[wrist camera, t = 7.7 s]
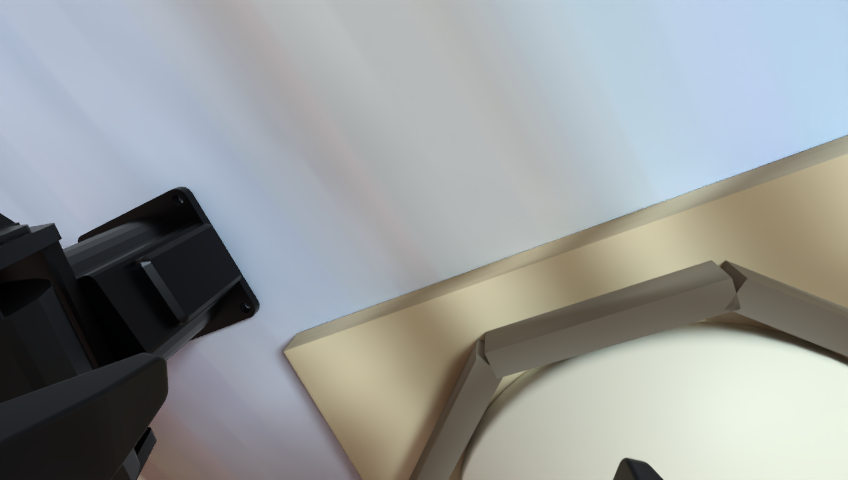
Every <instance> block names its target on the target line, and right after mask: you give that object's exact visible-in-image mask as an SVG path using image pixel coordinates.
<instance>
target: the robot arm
mask: <svg viewBox="0 0 848 480" xmlns="http://www.w3.org/2000/svg"><path fill="white" fill-rule="evenodd" d="M179 195H180V196H181V197H182V198H183V201H184V202H183V203H182V202H181V201H180V200H179V198H178V196H179ZM60 239H62V238H61V236H60V234H59V232H58V230H57V228H56V226H55V224H54V223H51V224H45V225H39V226H33V227H29V226H28V225H27V224H26V225H20V224H19V222H18V223H15V222H13V221H12V220H10V219H8V218H7V217H5V216H4V215H2V214H1V213H0V480H137V478H138V476H139V474H140V472H141V470H142V468H143V467H144V465H145V463H146V461H147V459H148V457H149V455H150V453H151V451H152V449H153V447H154V445H155V443H156V438H155V436H154V433H153V431H152V429H151V428H150V427H148V426H149V424H150V423H151V421H152V420H153V418H154V417H155V415H156V414H157V412H158V411H159V409H160V408H161V406H162V405H163V403H164V402H165V400H166V397H167V394H168V376H167V362H166V361H167V360H168V359H169V358H170V357H171V356H172V355H173V354H174V353H176V352H177V351H178V350H179V349H180V348H181V347H182V346H184V345H185V344H186V343H187V342H188V341H190V340H193V339H195V338H198V337H200V336H203V335H206V334H208V333H211V332H213V331H216V330H219V329H221V328H224V327H226V326H229V325H232V324H234V323H237V322H239V321H242V320H245V319H247V318H250V317H252V316H253V315H254V314H255V313H256V312H257V311H258V310H259V302H258V300H257V298H256V296H255V295H254V293H253V291H252V290H251V288H250V287H249V285H248V283H247V282H246V280H245V278H244V277H243V275H242V273H241V272H240V270H239V268H238V267H237V265H236V263H235V262H234V260H233V259H232V257H231V255H230V254H229V252H228V250H227V249H226V247H225V245H224V244H223V242H222V241H221V239H220V237H219V236H218V234H217V232H216V231H215V229H214V228H213V226H212V224H211V223H210V221H209V220H208V218H207V216H206V215H205V213H204V211H203V210H202V208H201V206H200V205H199V203H198V202H197V200H196V198H195V197H194V195H193V193H192V192H191V191H190V190H189V189H187V188H186V187H177V188H175V189H172V190H170V191H168V192H166V193H164V194H162V195H160V196H158V197H156V198H154V199H152V200H150V201H148V202H146V203H144V204H142V205H140V206H138V207H136V208H135V209H133V210H131V211H129V212H127V213H125V214H123V215H121V216H119V217H117V218H115V219H113V220H111V221H109V222H107V223H105V224H103V225H101V226H99V227H97V228H95V229H93V230H91V231H89V232H87V233H86V234H84V235H82V236H80V237H79V239H78V243H77V244H74V245H72V246H70V247H67V248H65V249H62V247H61V245H60V243H59V240H60ZM244 303H246V304H248V305H249V306H250V309H249V308H247V307H246V306H245V304H244ZM613 480H664V479H663V478H662V477H661V476H660V475H659V474H658V473H657V472H656V471H655V470H654V469H653V468H652V467H651V466H650V465H649V464H648V463H647V462H644V461H641V460H636V459H631V458H623V459H622V460H621V462H620V463H619V466H618V468H617V471H616V473H615V476H614V478H613Z"/></svg>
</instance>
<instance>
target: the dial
mask: <svg viewBox="0 0 848 480" xmlns="http://www.w3.org/2000/svg"><path fill="white" fill-rule="evenodd" d="M623 458H631V459H636V460H641V461H644V462H647V463H648V464H649V465H650V466H651V467H652V468H653V469H654V470H655V471H656V472H657V473H658V474H659V475H660V476H661V477H662V478H663V479H664V480H848V360H847V359H845V358H844V357H842V356H840V355H837V354H835V353H833V352H831V351H829V350H827V349H825V348H823V347H821V346H818V345H816V344H814V343H812V342H809V341H806V340H803V339H800V338H797V337H794V336H791V335H788V334H784V333H781V332H777V331H773V330H768V329H763V328H758V327H753V326H748V325H740V324H729V323H718V322H694V323H690V324H687V325H683V326H680V327H676V328H673V329H669V330H666V331H662V332H659V333H655V334H652V335H648V336H645V337H641V338H638V339H634V340H631V341H627V342H624V343H620V344H617V345H613V346H610V347H606V348H603V349H599V350H596V351H592V352H589V353H585V354H582V355H578V356H575V357H571V358H568V359H564V360H561V361H557V362H554V363H550V364H547V365H543V366H540V367H536V368H533V369H531V370H529V371H527V372H526V373H524V374H523V375H522V376H521V377H520V378H518V379H517V380H516V381H515V382H514V383H512V384H511V385H510V386H509V387H508V388H507V389H505V390H504V391H503V392H502V393H501V395H500V396H499V397H498V398H497V399H496V400H495V401H494V402H493V404H492V405H491V406H490V407H489V408H488V409H487V411H486V412H485V414H484V415H483V417H482V418H481V420H480V421H479V423H478V425H477V427H476V429H475V430H474V432H473V434H472V436H471V438H470V441H469V443H468V445H467V447H466V450H465V454H464V458H463V463H462V467H461V474H460V480H613V478H614V476H615V473H616V471H617V468H618V466H619V463H620V462H621V460H622V459H623Z"/></svg>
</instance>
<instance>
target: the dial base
mask: <svg viewBox="0 0 848 480" xmlns="http://www.w3.org/2000/svg"><path fill="white" fill-rule="evenodd" d="M694 322H718V323H729V324H740V325H748V326H753V327H758V328H763V329H768V330H773V331H777V332H781V333H784V334H788V335H791V336H794V337H797V338H800V339H803V340H806V341H809V342H812V343H814V344H816V345H818V346H821V347H823V348H825V349H827V350H829V351H831V352H833V353H835V354H837V355H840V356H842V357H844V358H845V359H847V360H848V135H847V136H844V137H841V138H838V139H836V140H833V141H830V142H827V143H825V144H822V145H819V146H816V147H813V148H811V149H808V150H805V151H802V152H800V153H797V154H794V155H791V156H788V157H786V158H783V159H780V160H777V161H775V162H772V163H769V164H766V165H763V166H761V167H758V168H755V169H752V170H750V171H747V172H744V173H741V174H738V175H736V176H733V177H730V178H727V179H725V180H722V181H719V182H716V183H713V184H711V185H708V186H705V187H702V188H700V189H697V190H694V191H691V192H688V193H686V194H683V195H680V196H677V197H675V198H672V199H669V200H666V201H663V202H661V203H658V204H655V205H652V206H650V207H647V208H644V209H641V210H638V211H636V212H633V213H630V214H627V215H625V216H622V217H619V218H616V219H613V220H611V221H608V222H605V223H602V224H600V225H597V226H594V227H591V228H588V229H586V230H583V231H580V232H577V233H575V234H572V235H569V236H566V237H563V238H561V239H558V240H555V241H552V242H550V243H547V244H544V245H541V246H538V247H536V248H533V249H530V250H527V251H525V252H522V253H519V254H516V255H513V256H511V257H508V258H505V259H502V260H500V261H497V262H494V263H491V264H488V265H486V266H483V267H480V268H477V269H475V270H472V271H469V272H466V273H463V274H461V275H458V276H455V277H452V278H450V279H447V280H444V281H441V282H438V283H436V284H433V285H430V286H427V287H425V288H422V289H419V290H416V291H413V292H411V293H408V294H405V295H402V296H400V297H397V298H394V299H391V300H388V301H386V302H383V303H380V304H377V305H375V306H372V307H369V308H366V309H363V310H361V311H358V312H355V313H352V314H350V315H347V316H344V317H341V318H338V319H336V320H333V321H330V322H327V323H325V324H322V325H319V326H316V327H313V328H311V329H308V330H305V331H302V332H300V333H297V334H296V335H295V337H294V338H293V339H292V341H291V342H290V343H289V345H288V346H287V347H286V349H285V350H284V351H283V352H284V353H285V355H286V357H287V358H288V360H289V361H290V363H291V365H292V366H293V368H294V370H295V371H296V373H297V374H298V376H299V378H300V379H301V381H302V383H303V384H304V386H305V387H306V389H307V391H308V392H309V394H310V396H311V397H312V399H313V400H314V402H315V404H316V405H317V407H318V409H319V410H320V412H321V413H322V415H323V417H324V418H325V420H326V422H327V423H328V425H329V426H330V428H331V430H332V431H333V433H334V435H335V436H336V438H337V439H338V441H339V443H340V444H341V446H342V448H343V449H344V451H345V452H346V454H347V456H348V457H349V459H350V461H351V462H352V464H353V465H354V467H355V469H356V470H357V472H358V474H359V475H360V477H361V478H362V480H460V474H461V467H462V463H463V458H464V454H465V450H466V447H467V445H468V443H469V441H470V438H471V436H472V434H473V432H474V430H475V429H476V427H477V425H478V423H479V421H480V420H481V418H482V417H483V415H484V414H485V412H486V411H487V409H488V408H489V407H490V406H491V405H492V404H493V402H494V401H495V400H496V399H497V398H498V397H499V396H500V395H501V393H502V392H503V391H504V390H505V389H507V388H508V387H509V386H510V385H511V384H512V383H514V382H515V381H516V380H517V379H518V378H520V377H521V376H522V375H523V374H524V373H526V372H527V371H529V370H531V369H533V368H536V367H540V366H543V365H547V364H550V363H554V362H557V361H561V360H564V359H568V358H571V357H575V356H578V355H582V354H585V353H589V352H592V351H596V350H599V349H603V348H606V347H610V346H613V345H617V344H620V343H624V342H627V341H631V340H634V339H638V338H641V337H645V336H648V335H652V334H655V333H659V332H662V331H666V330H669V329H673V328H676V327H680V326H683V325H687V324H690V323H694Z"/></svg>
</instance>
